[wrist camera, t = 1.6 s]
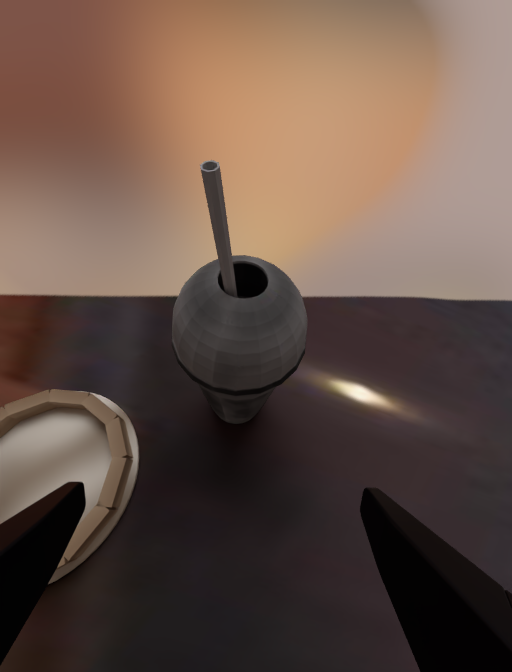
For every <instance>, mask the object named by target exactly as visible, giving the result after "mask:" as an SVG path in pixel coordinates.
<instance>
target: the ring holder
mask: <svg viewBox="0 0 512 672" xmlns="http://www.w3.org/2000/svg"><path fill="white" fill-rule="evenodd" d="M139 460H140V456H139V443H138V437H137V434H136V431H135V428H134V426H133V424H132V422H131V420H130V419H129V417H128V416H127V415H126V413H125V412H124V411H123V410H122V409H121V408H120V407H119V406H117V405H116V404H115V403H113V402H112V401H110V400H109V399H107V398H105V397H103V396H100V395H97V394H94V393H89V392H83V391H67V390H56V389H51V391H50V390H46V391H43V392H40V393H37V394H34V395H32V396H29V397H26V398H23V399H20V400H17V401H14V402H12V403H9V404H6V405H5V408H4V407H1V408H0V524H1V523H3V522H4V521H6V520H7V519H9V518H11V517H12V516H14V515H15V514H17V513H19V512H20V511H22V510H24V509H25V508H27V507H28V506H30V505H32V504H33V503H35V502H36V501H38V500H40V499H41V498H43V497H44V496H46V495H48V494H49V493H51V492H52V491H54V490H56V489H57V488H59V487H60V486H62V485H64V484H65V483H67V482H83V484H84V488H85V498H86V507H85V510H84V513H83V515H82V517H81V519H80V521H79V523H78V525H77V528H76V530H75V532H74V534H73V536H72V538H71V540H70V542H69V544H68V546H67V548H66V550H65V552H64V554H63V557H62V559H61V561H60V563H59V565H58V567H57V569H56V571H55V572H54V574H53V576H52V578H51V580H50V581H49V583H48V584H50V583H52V582H54V581H56V580H58V579H59V578H61V577H63V576H64V575H66V574H68V573H69V572H71V571H72V570H73V569H75V568H76V567H77V566H79V565H80V564H81V563H82V562H84V561H85V560H86V559H87V558H88V557H89V556H90V555H91V554H92V553H93V552H94V551H96V550H97V549H98V547H99V546H100V545H101V544H102V543H103V542H104V540H105V539H106V538H107V537H108V536H109V534H110V533H111V532H112V530H113V529H114V527H115V526H116V525H117V523H118V522H119V520H120V518H121V516H122V515H123V513H124V511H125V509H126V507H127V505H128V503H129V501H130V498H131V496H132V493H133V490H134V487H135V484H136V480H137V475H138V470H139Z"/></svg>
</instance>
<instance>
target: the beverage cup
mask: <svg viewBox="0 0 512 672" xmlns="http://www.w3.org/2000/svg"><path fill="white" fill-rule="evenodd" d="M200 167H201V172H202V177H203V183H204V188H205V193H206V198H207V203H208V208H209V213H210V218H211V224H212V229H213V233H214V239H215V243H216V249H217V254H218V259H217V260H214V261H212V262H210V263H208V264H206V265H205V266H203V267H201V268H200V269H199V270H197V271H196V272H195V273H194V274H193V275H192V276H191V278H190V279H189V280H188V281H187V282H186V283H185V285H184V286H183V287H182V289H181V292H180V294H179V296H178V298H177V300H176V303H175V306H174V309H173V325H172V347H173V350H174V353H175V356H176V359H177V361H178V364H179V365H180V366H181V367H182V369H183V370H184V371H185V372H186V373H187V374H188V376H189V377H190V378H191V379H192V380H193V381H195V382H197V383H198V384H199V386H200V388H201V390H202V391H203V393H204V395H205V397H206V398H207V400H208V402H209V404H210V406H211V407H212V409H213V410H214V411H215V413H216V414H217V415H218V416H219V417H220V418H221V419H222V420H224V421H226V422H228V423H233V424H240V423H244V422H246V421H249V420H251V419H252V418H253V417H254V416H255V415H256V414H257V413H258V412H259V411H260V409H261V408H262V406H263V405H264V403H265V402H266V400H267V399H268V397H269V396H270V395H271V393H272V392H273V390H274V389H275V387H276V386H279V385H281V384H282V383H283V382H284V381H285V380H286V379H287V378H288V377H289V376H291V375H292V374H293V373H294V372H295V371H296V370H297V368H298V366H299V364H300V362H301V360H302V358H303V356H304V354H305V344H306V331H307V314H306V310H305V307H304V303H303V300H302V296H301V294H300V292H299V290H298V289H297V287H296V286H295V285H294V283H293V282H292V281H291V279H290V278H289V277H288V276H287V275H286V274H285V273H284V272H283V271H281V270H280V269H279V268H278V267H276V266H275V265H273V264H271V263H269V262H266V261H264V260H262V259H259V258H256V257H251V256H245V255H243V256H232V253H231V247H230V239H229V232H228V224H227V217H226V209H225V202H224V195H223V187H222V180H221V172H220V166H219V163H218V162H216V161H212V160H211V161H205V162H203V163H202V164H201V165H200Z"/></svg>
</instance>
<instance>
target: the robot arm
mask: <svg viewBox="0 0 512 672" xmlns="http://www.w3.org/2000/svg"><path fill="white" fill-rule="evenodd" d="M85 507H86V498H85V488H84V484H83V482H67V483H65V484H64V485H62V486H60V487H59V488H57V489H56V490H54V491H52V492H51V493H49V494H48V495H46V496H44V497H43V498H41V499H40V500H38V501H36V502H35V503H33V504H32V505H30V506H28V507H27V508H25V509H24V510H22V511H20V512H19V513H17V514H15V515H14V516H12V517H11V518H9V519H7V520H6V521H4V522H3V523H1V524H0V665H1V663H2V662H3V660H4V658H5V657H6V655H7V653H8V652H9V650H10V648H11V646H12V645H13V643H14V641H15V640H16V638H17V636H18V634H19V633H20V631H21V629H22V628H23V626H24V624H25V622H26V621H27V619H28V617H29V616H30V614H31V612H32V610H33V609H34V607H35V605H36V604H37V602H38V600H39V598H40V597H41V595H42V593H43V592H44V590H45V588H46V586H47V585H48V583H49V581H50V580H51V578H52V576H53V574H54V572H55V571H56V569H57V567H58V565H59V563H60V561H61V559H62V557H63V554H64V552H65V550H66V548H67V546H68V544H69V542H70V540H71V538H72V536H73V534H74V532H75V530H76V528H77V525H78V523H79V521H80V519H81V517H82V515H83V513H84V510H85ZM360 513H361V517H362V520H363V524H364V527H365V530H366V533H367V536H368V539H369V542H370V545H371V549H372V552H373V555H374V558H375V561H376V564H377V567H378V570H379V573H380V575H381V578H382V580H383V583H384V585H385V587H386V590H387V592H388V595H389V597H390V599H391V602H392V604H393V607H394V609H395V612H396V614H397V616H398V619H399V621H400V624H401V626H402V628H403V631H404V633H405V636H406V638H407V640H408V643H409V645H410V648H411V650H412V653H413V655H414V657H415V660H416V662H417V665H418V667H419V669H420V672H512V594H511V593H510V592H509V591H507V590H504V588H503V587H502V586H501V585H500V584H498V583H497V582H496V581H494V580H493V579H492V578H491V577H489V576H488V575H487V574H486V573H484V572H483V571H482V570H481V569H479V568H478V567H477V566H476V565H474V564H473V563H472V562H470V561H469V560H468V559H467V558H465V557H464V556H463V555H462V554H460V553H459V552H458V551H457V550H455V549H454V548H453V547H451V546H450V545H449V544H448V543H446V542H445V541H444V540H443V539H441V538H440V537H439V536H438V535H436V534H435V533H434V532H433V531H431V530H430V529H429V528H427V527H426V526H425V525H424V524H422V523H421V522H420V521H419V520H417V519H416V518H415V517H414V516H412V515H411V514H410V513H409V512H407V511H406V510H405V509H403V508H402V507H401V506H400V505H398V504H397V503H396V502H395V501H393V500H392V499H391V498H390V497H388V496H387V495H386V494H385V493H383V492H382V491H381V490H379V489H378V488H365V489H364V491H363V496H362V501H361V506H360Z"/></svg>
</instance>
